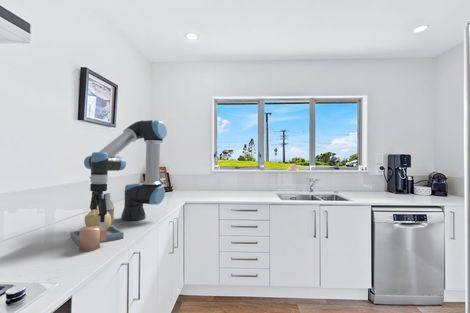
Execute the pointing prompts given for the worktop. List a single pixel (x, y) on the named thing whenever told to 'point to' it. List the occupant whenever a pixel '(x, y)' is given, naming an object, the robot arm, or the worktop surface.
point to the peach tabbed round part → (91, 238)
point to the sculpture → (97, 219)
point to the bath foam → (110, 207)
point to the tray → (111, 235)
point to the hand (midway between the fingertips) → (97, 226)
